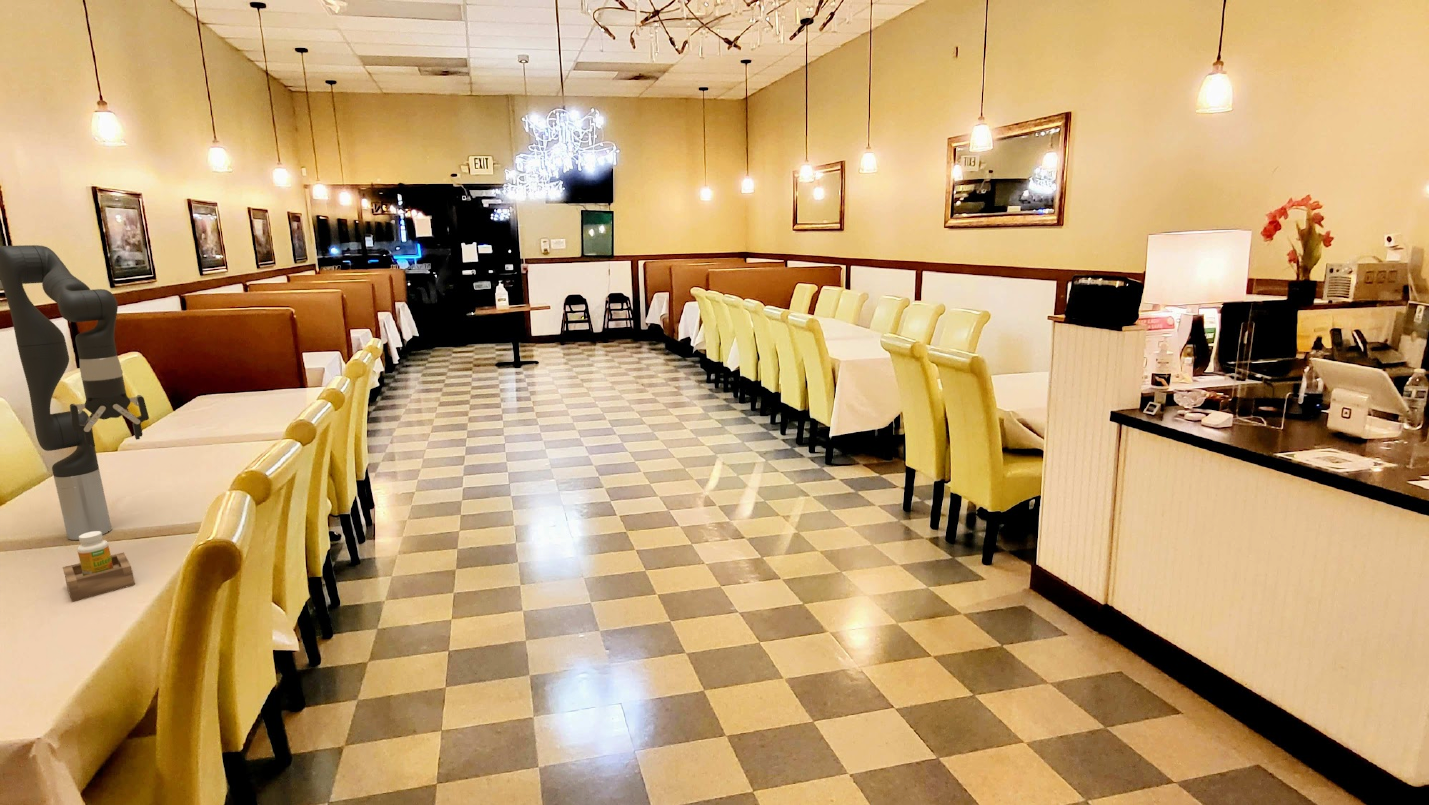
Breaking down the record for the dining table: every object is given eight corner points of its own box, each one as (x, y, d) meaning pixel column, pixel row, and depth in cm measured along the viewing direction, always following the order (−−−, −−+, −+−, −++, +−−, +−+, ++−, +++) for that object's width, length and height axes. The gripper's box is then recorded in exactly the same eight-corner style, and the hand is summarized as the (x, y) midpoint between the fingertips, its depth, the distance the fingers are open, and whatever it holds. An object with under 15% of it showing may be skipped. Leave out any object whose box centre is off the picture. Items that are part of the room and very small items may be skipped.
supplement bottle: (96, 580, 168) (87, 539, 165) (77, 579, 169) (68, 538, 167) (120, 570, 173) (111, 530, 171) (101, 568, 174) (92, 529, 172)
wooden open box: (67, 585, 171) (62, 567, 170) (127, 570, 179) (123, 552, 178) (72, 601, 164) (67, 582, 163) (134, 584, 171) (131, 566, 170)
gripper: (137, 369, 185) (149, 433, 188) (61, 378, 175) (75, 445, 179) (142, 373, 179) (154, 439, 183) (64, 382, 170) (78, 452, 174)
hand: (115, 442), depth 181 cm, fingers open, 8 cm apart
